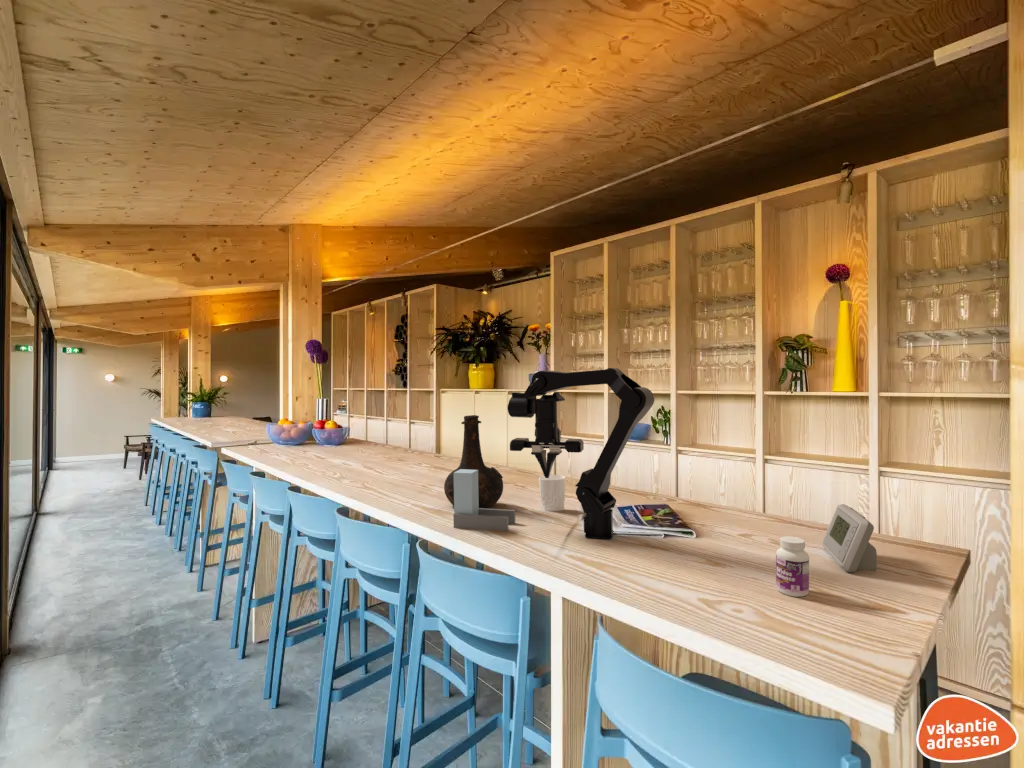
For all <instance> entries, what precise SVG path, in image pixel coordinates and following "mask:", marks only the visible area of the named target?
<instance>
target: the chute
mask: <svg viewBox="0 0 1024 768" xmlns="http://www.w3.org/2000/svg"><path fill="white" fill-rule="evenodd" d="M510 524H511V525H515V524H516V509H504V508H503V509H502V508H479V515H473V514H456V513H455V514H454V513H453V529H470V530H482V531H495V532H497V531H498V532H508V531H509V525H510Z"/></svg>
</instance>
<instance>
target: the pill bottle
mask: <svg viewBox="0 0 1024 768" xmlns="http://www.w3.org/2000/svg"><path fill="white" fill-rule="evenodd" d="M779 545H780V547H779V548H778V549H777V550H776V552H775V588H776V589H777V591H778V592H779V593H781V594H783V595H786V596H789V597H793V598H802V597H806V596H808V595H809V592H810V556H809V554H808V552H807V551H805V548H806V541H805V540H804V539H803V538H800V537H796V536H790V535H786V536H781V537H780V538H779Z"/></svg>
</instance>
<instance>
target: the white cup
mask: <svg viewBox="0 0 1024 768" xmlns="http://www.w3.org/2000/svg"><path fill="white" fill-rule="evenodd" d="M566 478H567V477H566V476H564V475H561V474H550V476H549V478H545V476H544V474H543V475H540V476H538V488H539V501H540V509H541V510H542V511H545V512H559V511H564V510H565V500H566V483H567V482H566Z"/></svg>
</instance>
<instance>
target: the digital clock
mask: <svg viewBox="0 0 1024 768" xmlns="http://www.w3.org/2000/svg"><path fill="white" fill-rule="evenodd" d="M874 529H875V527H874V524H872V522H870V521H869V520H868V519H867V518H866V517H865V516H864V515H862V514H861V513H860V512H858V511H857V510H855V509H854V508H853V507H851V506H848V505H846V504H844V503H841V504H838V505H837V506H836V509H835V510H834V513H833V516H832V518H831V520H830V522H829V525H828V527H827V529H826V531H825V535H824V536H823V538H822V541H821V546H822V548H823V549H824V550H825V551H826V552H827V553H828V555H829V556H830V557H831V558H832V559H833V561H835V562H836V564H837V565H838V566H839V567H840V568H842V569H843V570H844V571H845V572H847V573H853V572H854V573H855V572H856V571H857V570H863V571H865V570H866V571H876V570H877V565H878V563H877V562H878V561H877V559H878V558H877V557H878V554H877V549H876V547H875V546H874V545H873V544H871V543H870V540H871V537H872V534H873V533H874Z"/></svg>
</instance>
